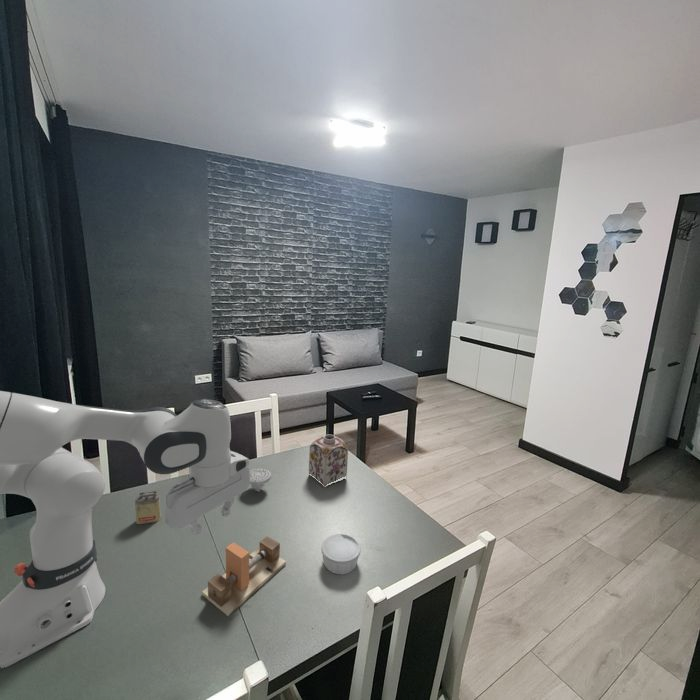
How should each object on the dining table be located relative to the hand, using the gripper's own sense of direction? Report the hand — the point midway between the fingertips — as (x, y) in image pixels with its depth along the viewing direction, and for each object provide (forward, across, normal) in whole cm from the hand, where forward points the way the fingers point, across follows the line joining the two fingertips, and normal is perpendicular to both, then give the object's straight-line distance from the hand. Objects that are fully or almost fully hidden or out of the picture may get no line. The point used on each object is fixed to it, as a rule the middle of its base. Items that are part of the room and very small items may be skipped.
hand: (211, 523), depth 84 cm
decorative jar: (+23, +64, +13) cm, 70 cm away
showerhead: (+23, +40, +28) cm, 55 cm away
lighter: (+23, +7, +43) cm, 50 cm away
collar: (+22, +8, 0) cm, 23 cm away
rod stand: (+23, +10, 0) cm, 25 cm away
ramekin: (+24, +30, -17) cm, 42 cm away
